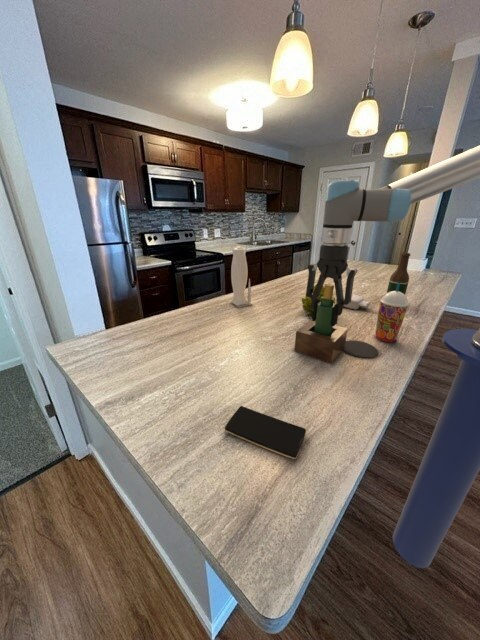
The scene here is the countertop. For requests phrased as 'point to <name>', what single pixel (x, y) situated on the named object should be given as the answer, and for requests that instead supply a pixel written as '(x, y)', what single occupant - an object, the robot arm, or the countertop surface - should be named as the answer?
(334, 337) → the holder
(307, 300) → the vegetable
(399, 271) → the beer bottle
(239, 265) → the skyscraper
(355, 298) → the charger
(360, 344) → the coaster
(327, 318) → the bottle
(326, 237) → the robot arm
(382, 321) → the smoothie
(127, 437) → the countertop surface
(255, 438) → the smartphone
